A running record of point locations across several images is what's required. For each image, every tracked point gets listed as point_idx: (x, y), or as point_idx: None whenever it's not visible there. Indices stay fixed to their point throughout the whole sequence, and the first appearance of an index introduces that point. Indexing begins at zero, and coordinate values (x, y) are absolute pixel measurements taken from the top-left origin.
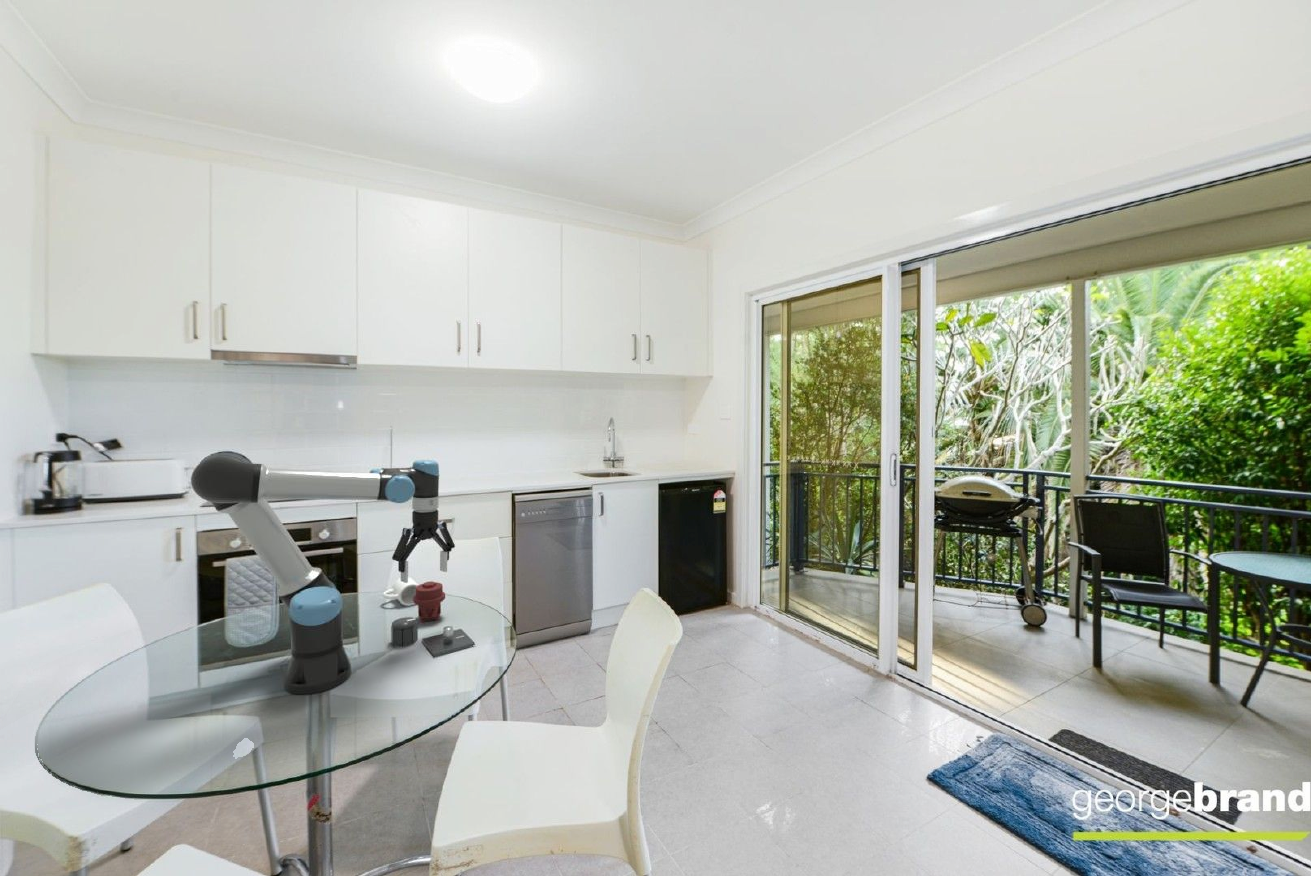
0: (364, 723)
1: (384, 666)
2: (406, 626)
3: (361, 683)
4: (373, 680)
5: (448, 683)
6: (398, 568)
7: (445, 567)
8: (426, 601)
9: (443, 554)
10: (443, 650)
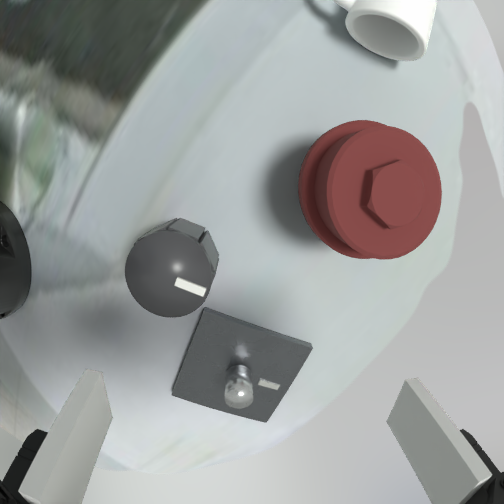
0: (24, 417)
1: (80, 329)
2: (152, 311)
3: (33, 342)
4: (50, 353)
5: (139, 455)
6: (23, 444)
7: (400, 440)
8: (317, 234)
9: (444, 493)
10: (195, 400)
